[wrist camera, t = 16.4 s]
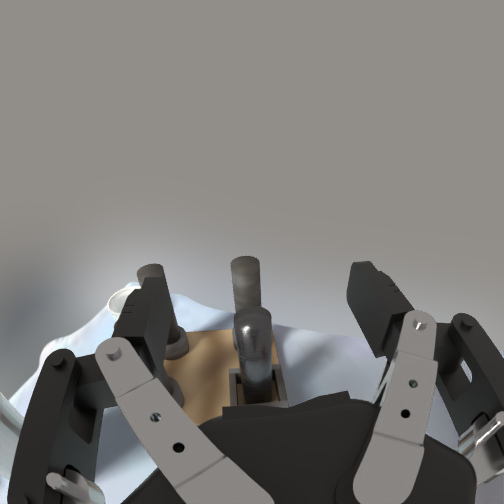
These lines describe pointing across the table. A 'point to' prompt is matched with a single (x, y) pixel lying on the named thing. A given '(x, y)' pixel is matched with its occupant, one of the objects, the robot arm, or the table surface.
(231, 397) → the stool seat
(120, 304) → the ramekin
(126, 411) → the robot arm
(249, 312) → the stool leg
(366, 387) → the table surface
